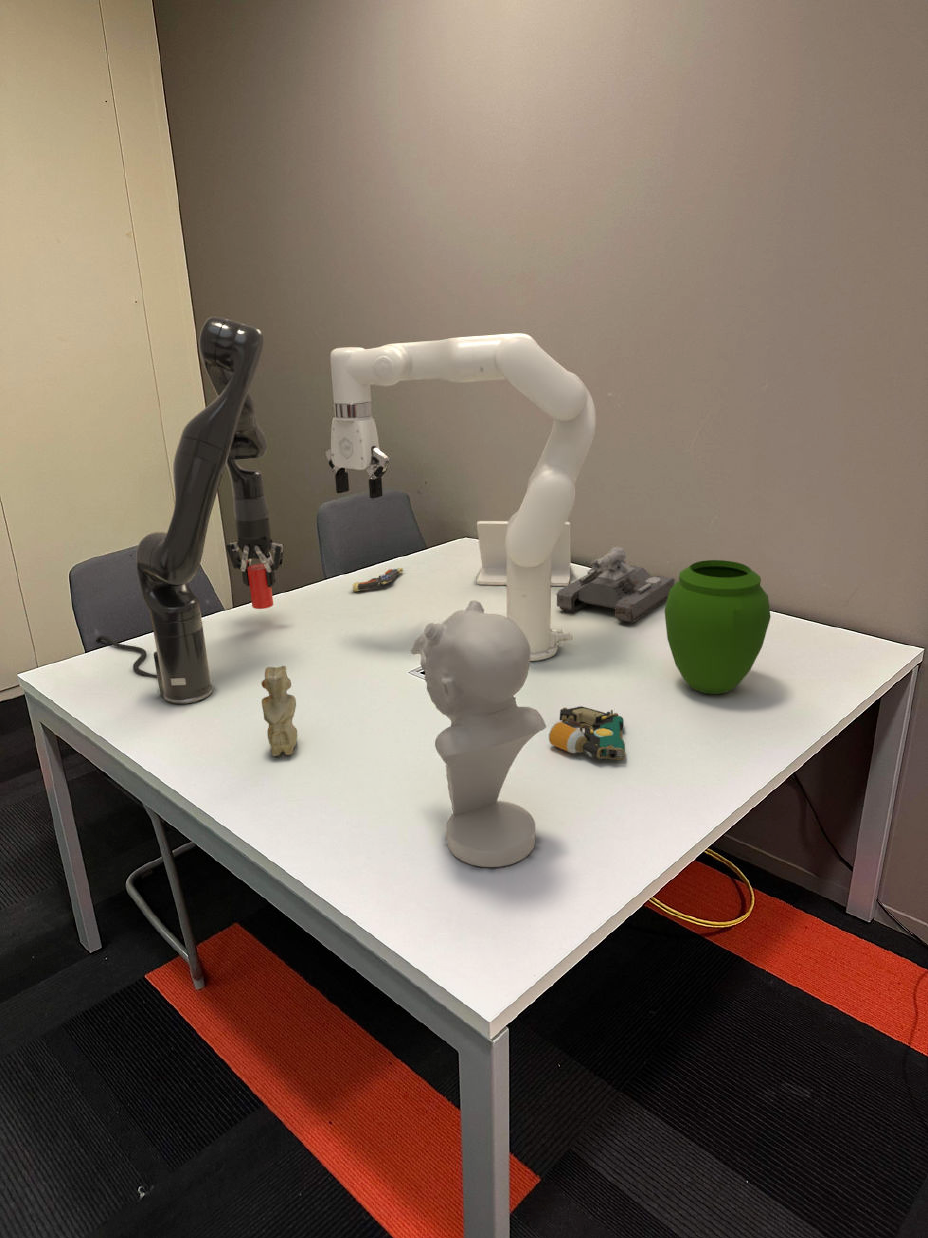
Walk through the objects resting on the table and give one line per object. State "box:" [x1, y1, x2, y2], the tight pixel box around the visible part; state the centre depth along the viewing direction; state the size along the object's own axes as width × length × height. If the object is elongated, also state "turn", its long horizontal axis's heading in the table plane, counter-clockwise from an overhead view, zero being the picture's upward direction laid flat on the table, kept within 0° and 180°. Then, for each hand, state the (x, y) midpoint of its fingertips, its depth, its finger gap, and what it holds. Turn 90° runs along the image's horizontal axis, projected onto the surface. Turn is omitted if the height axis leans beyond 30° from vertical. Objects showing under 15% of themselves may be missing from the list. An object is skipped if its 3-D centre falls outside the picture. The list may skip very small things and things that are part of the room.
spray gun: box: [548, 705, 626, 761], centre depth 149 cm, size 4×17×15 cm
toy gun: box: [352, 567, 404, 592], centre depth 236 cm, size 3×19×10 cm
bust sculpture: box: [410, 599, 547, 868], centre depth 121 cm, size 16×24×35 cm
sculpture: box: [261, 665, 298, 757], centre depth 147 cm, size 6×7×15 cm
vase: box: [664, 559, 772, 695], centre depth 164 cm, size 20×20×24 cm
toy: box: [556, 546, 676, 624], centre depth 212 cm, size 25×20×15 cm
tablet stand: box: [476, 520, 572, 587], centre depth 236 cm, size 18×25×17 cm
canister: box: [247, 563, 274, 610], centre depth 202 cm, size 5×5×10 cm
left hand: (260, 585), depth 202 cm, fingers closed on canister, 5 cm apart
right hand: (359, 494), depth 179 cm, fingers open, 9 cm apart
